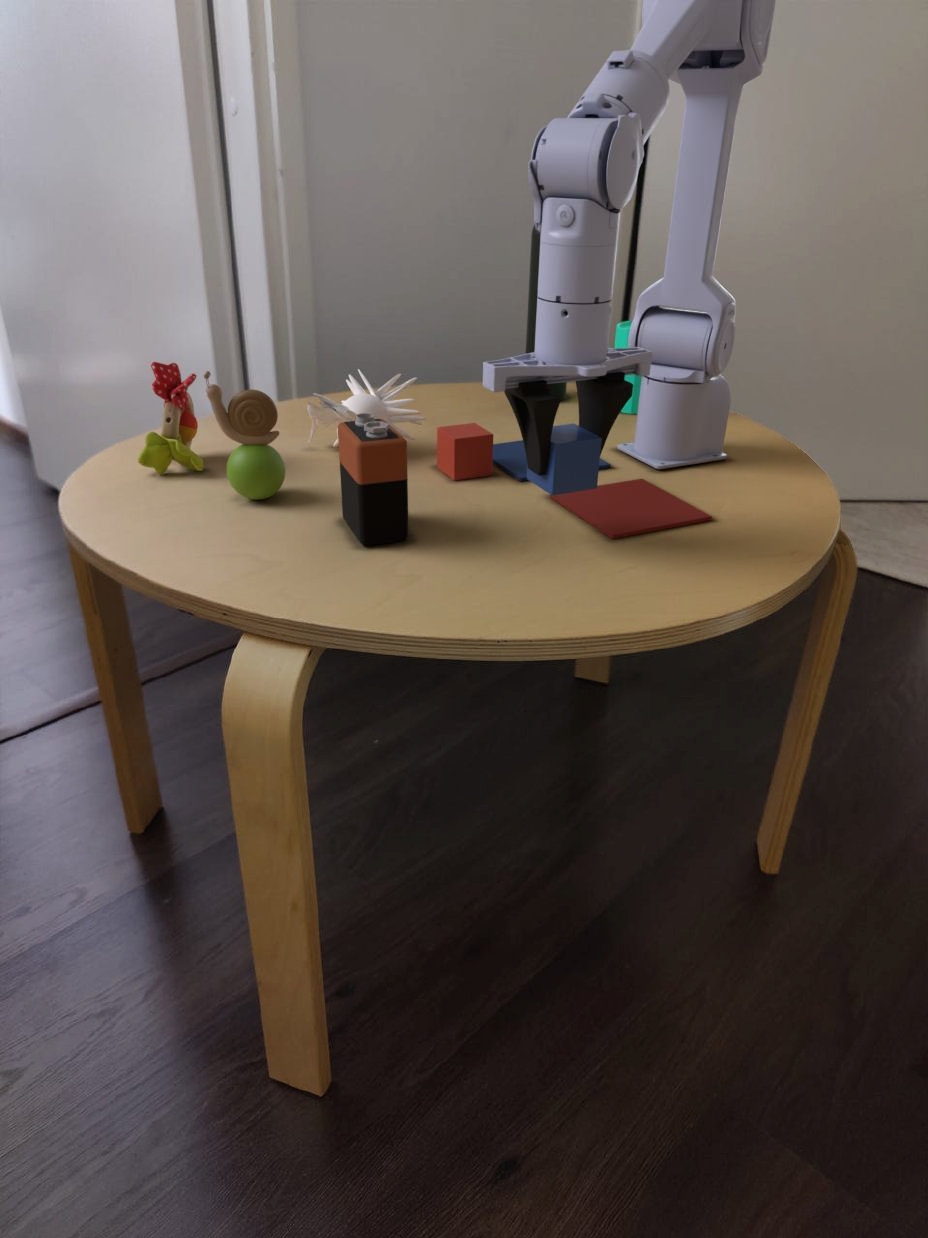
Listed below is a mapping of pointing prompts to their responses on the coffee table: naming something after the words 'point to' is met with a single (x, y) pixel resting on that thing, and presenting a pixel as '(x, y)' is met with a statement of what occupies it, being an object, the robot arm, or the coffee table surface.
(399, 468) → the battery
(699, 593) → the coffee table surface
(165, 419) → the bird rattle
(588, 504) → the red mat
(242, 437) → the snail figurine
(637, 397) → the candle
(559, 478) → the blue block
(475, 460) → the red block
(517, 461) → the blue mat
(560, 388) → the wine bottle
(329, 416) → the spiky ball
